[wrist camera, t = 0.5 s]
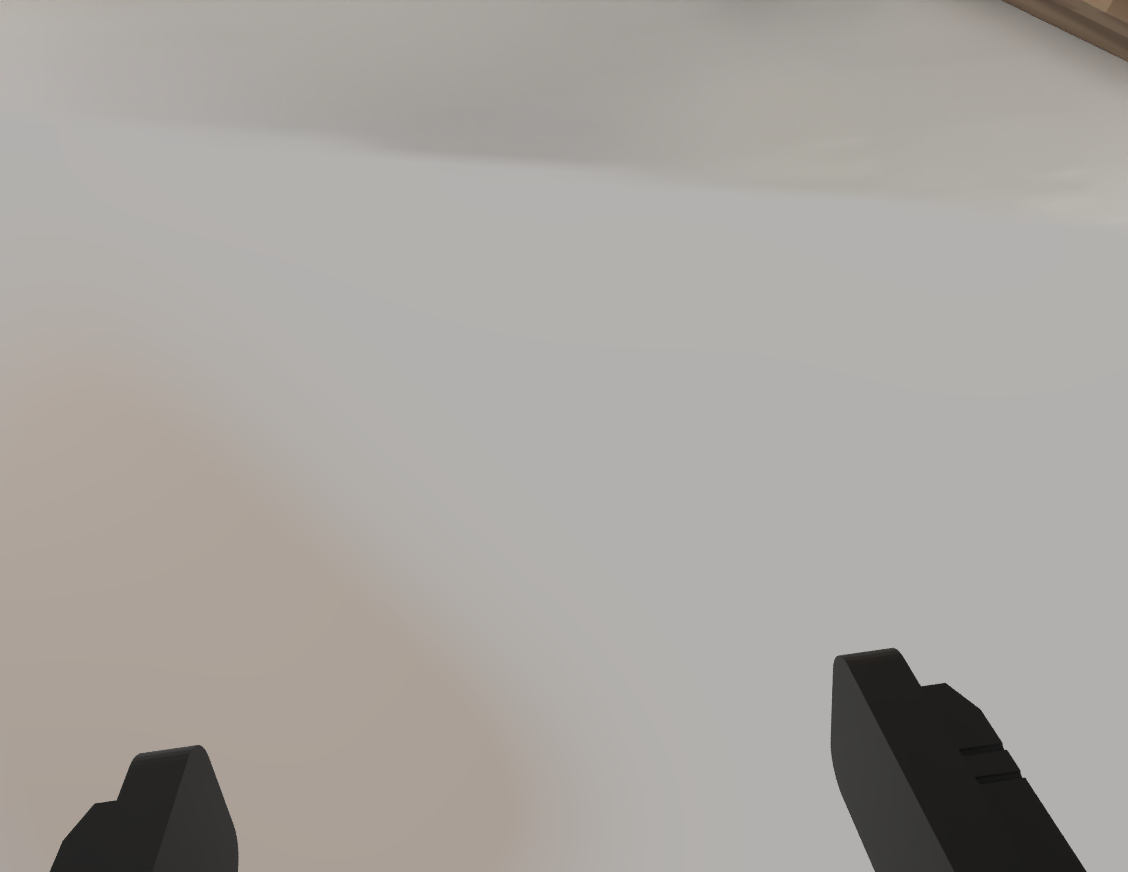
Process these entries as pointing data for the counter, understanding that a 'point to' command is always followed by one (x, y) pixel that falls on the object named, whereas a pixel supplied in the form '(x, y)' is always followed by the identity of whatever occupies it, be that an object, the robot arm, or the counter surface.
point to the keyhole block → (1085, 20)
